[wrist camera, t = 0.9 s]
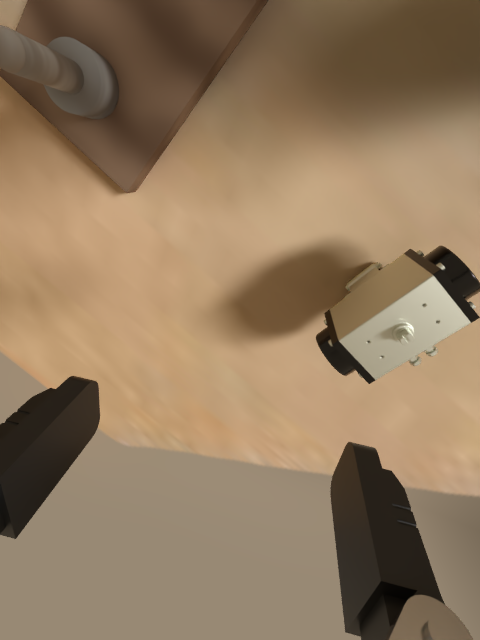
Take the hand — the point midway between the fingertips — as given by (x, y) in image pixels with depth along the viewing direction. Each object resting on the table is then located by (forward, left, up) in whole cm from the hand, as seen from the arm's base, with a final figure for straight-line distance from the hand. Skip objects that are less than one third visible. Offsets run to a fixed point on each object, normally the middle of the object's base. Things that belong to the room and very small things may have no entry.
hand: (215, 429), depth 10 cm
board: (-8, -21, -25) cm, 34 cm away
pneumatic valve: (-5, +10, -26) cm, 28 cm away
